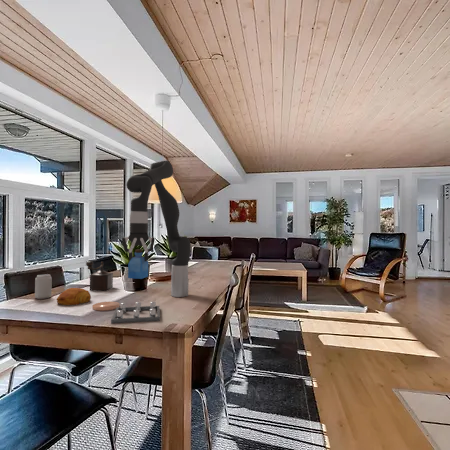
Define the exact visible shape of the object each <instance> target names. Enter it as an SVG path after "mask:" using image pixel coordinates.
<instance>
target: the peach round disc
mask: <svg viewBox="0 0 450 450" xmlns="http://www.w3.org/2000/svg"><path fill="white" fill-rule="evenodd" d="M117 307H120V302H118V301H101V302H95V303H94V304H92V310H94V311H99V312H101V311H102V312H105V311H113V310H114V311H115V310H116V308H117Z"/></svg>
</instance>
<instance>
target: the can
mask: <svg viewBox="0 0 450 450" xmlns="http://www.w3.org/2000/svg"><path fill="white" fill-rule="evenodd" d="M52 281H53V280H52V276H51V274H48V273H47V274H37V275H36V277H35V280H34V298H35V299H37V300H43V299H44V300H45V299H49V298H51V296H52V288H53V287H52V283H53V282H52Z"/></svg>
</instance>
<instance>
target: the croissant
mask: <svg viewBox="0 0 450 450" xmlns="http://www.w3.org/2000/svg"><path fill="white" fill-rule="evenodd" d="M91 299H92V295H91V293H90V290H86V289H84V288H82V287H71V288H70V287H69V288H67V289H66V290H65V289H64V290H63V292H61V293H60V294H59V295H58V296H57V298H56V302H57V304H59V305H62V306H63V305H64V306H78V305H82V304H86V303H88V302H90V301H91Z"/></svg>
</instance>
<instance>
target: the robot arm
mask: <svg viewBox="0 0 450 450" xmlns="http://www.w3.org/2000/svg"><path fill="white" fill-rule="evenodd" d="M173 175H174V169H173V164H172V163H171V162H170V161H169V160H161V161H155V162H152V163H151V164H150V167H149V169H148V170H146V171H144V172H142V173H139V174H133V175H131V176H129V177H128V178H127V180H126V188H127V190H128V191H129V192H131V193H134V194H135V193H140V195H139V196H137V197H133V198H132V199H130V200H131V201H130V214H129V235H128V236H125V237H122V238H121V240H122V241H121V242H122V245H123V250H124V252H126V253H127V254H128V260H129V261H130V260H131V259H132V258H133V255H134V254H133V249H135V247H136V246H140V247H141V246H142V248H143V250H144V257H145V261H146V260H147V261H148V260H149V252H152V251H153V249H154V244H155V237H150V235H149V234H148V232H149V215H148V204H149V203H148V202H149V199H150V195H151V192H152V187H153V186H154V187H155V189H156V193H157V196H158V200H159V205H160V209H161V213H162V216H163V219H164V225H165V229H166V233H167V241H168V245H169V249H170V250H171V252H173V253H176V257H174V259H172V260H171V281H170V282H171V283H170V284H171V286H170V287H171V288H170V289H171V290H170V294H171V295H170V296H171V297H174V298H184V297H189V280H190V279H189V261H190V259H191V247H192V245H191V241H190V239H189V237H187V236H181V235H180V233H179V229H178V223H179V220H180V208H179V204H178V201H177V200H176V198H175V197H174V196H173V195H172V194H171V193H170V192H169V191H168V189H166V187H165V186H164V183H163V180H164V179H165V180H166V179H169V178H172V176H173ZM148 240H149V243H150V245H149V248H148V246H147V244H146V242H148ZM128 241H130V243H131V245H130V247H129V248H128V244H127V243H128Z"/></svg>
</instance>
